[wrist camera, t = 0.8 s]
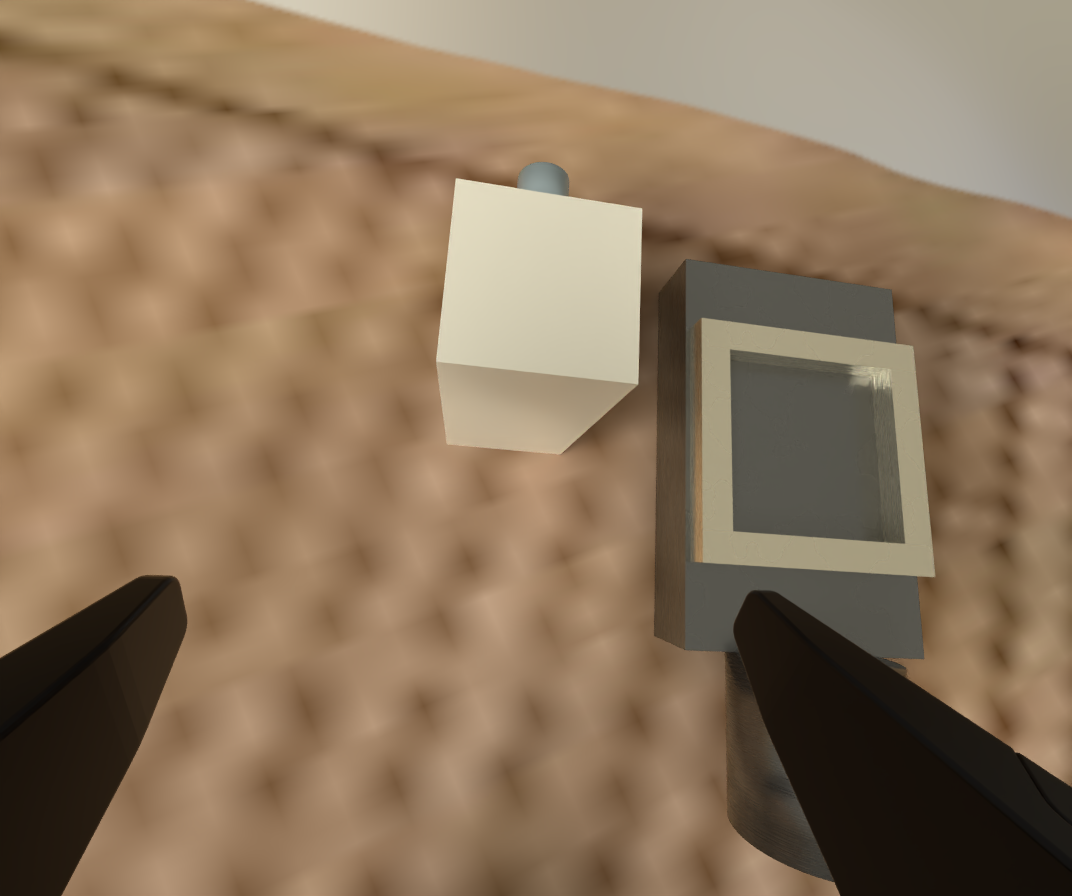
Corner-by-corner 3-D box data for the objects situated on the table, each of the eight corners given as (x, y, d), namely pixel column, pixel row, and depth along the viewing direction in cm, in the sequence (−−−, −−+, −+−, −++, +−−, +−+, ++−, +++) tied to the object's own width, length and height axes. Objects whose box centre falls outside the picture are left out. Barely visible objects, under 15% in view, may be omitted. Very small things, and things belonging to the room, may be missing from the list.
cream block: (560, 454, 22) (638, 384, 12) (446, 444, 21) (436, 361, 12) (567, 310, 24) (643, 145, 14) (461, 296, 23) (463, 112, 13)
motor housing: (873, 791, 21) (1029, 884, 16) (652, 792, 20) (731, 893, 14) (842, 318, 26) (954, 252, 20) (659, 293, 24) (721, 214, 19)
